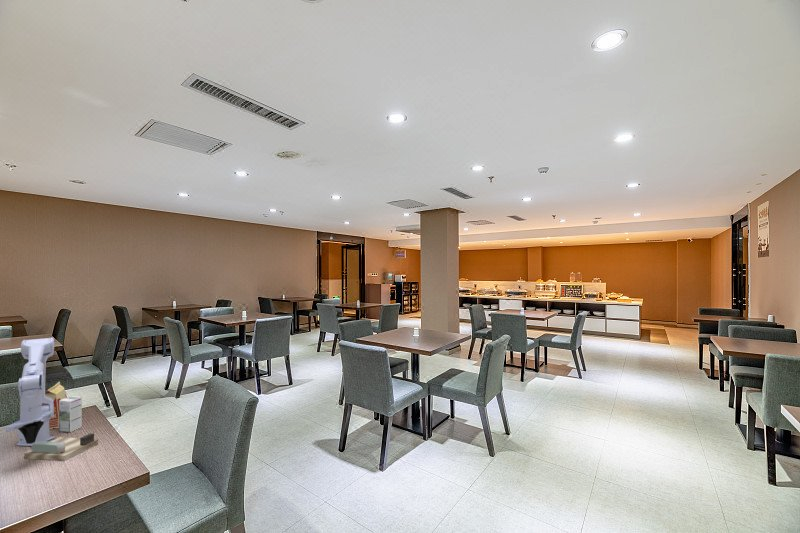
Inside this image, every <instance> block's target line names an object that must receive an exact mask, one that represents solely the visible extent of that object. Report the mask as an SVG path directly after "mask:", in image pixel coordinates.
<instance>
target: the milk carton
mask: <svg viewBox="0 0 800 533" xmlns="http://www.w3.org/2000/svg"><path fill="white" fill-rule="evenodd" d="M45 396H47V397H49V398H52V399H53V403H54V416H52V417H51V418H50V419H49V430H54V429H53V428H56V429H59V400H62V399H64V398H67V393H66V390H65V387H64V386H63V385H61V381H58V382H57V383H56V384H54V386H51V387H50V388H49V389H47V391H45ZM43 404H48V403H43Z"/></svg>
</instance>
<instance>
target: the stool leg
mask: <svg viewBox="0 0 800 533" xmlns="http://www.w3.org/2000/svg"><path fill="white" fill-rule="evenodd" d="M31 450H32V452H46V453H61V452H64V451H65V442H51V441H38V442H35V443H33V444H32V446H31Z"/></svg>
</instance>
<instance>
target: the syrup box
mask: <svg viewBox="0 0 800 533" xmlns="http://www.w3.org/2000/svg"><path fill="white" fill-rule="evenodd" d="M82 402H83V401H82V396H68V397H67V398H64V399H62V400H59V428H58V429H59V430H58V431H59V433H72V432H74V430H75V431H77V430H78V428H79V429H81V428H83V426H82V425H83V423H82V422H83V421H82V420H83V419H82V418H83V417H82V415H83V414H82V411H83V410H82V407H83V406H82V404H83V403H82ZM80 427H81V428H80ZM76 429H77V430H76Z"/></svg>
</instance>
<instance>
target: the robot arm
mask: <svg viewBox="0 0 800 533" xmlns="http://www.w3.org/2000/svg"><path fill="white" fill-rule="evenodd" d="M54 352H55V338H54V337H45V338H37V339H36V338H35V339H34V338H33V339H23V340H22V341H21V345H20V353H21V355H22V357H23V359H24V360H28V362H27V363H25V364H24V365H23V369H22V374H21V377H19V379H18V384H17V385H18V388H17V389H18V396H19V401H20V403H19V404H20V408H19V413H20V414H19V420H17V421H14V422H13V423H11V424H8V425H6V426H5V432H7V433H12V432H14V431H16V430H18V443H16V444H15V445H16V446H24V447H25V446H26V447H32V444H33V443H35V442H38V441H46V442H50V441H52V440H54V439H56V436H54V435H53V436H51V435H50V429H49V419H50V418H51V417H52V416H54V403H53V399H52V398H49V397H47V396H45V393H46V372H47V370H46V369H47V368H46V367H47V366H46V364H47V363H46V362H47V360H48V358H51V357H53V356H54V354H55V353H54ZM43 403H48V404H43Z"/></svg>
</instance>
